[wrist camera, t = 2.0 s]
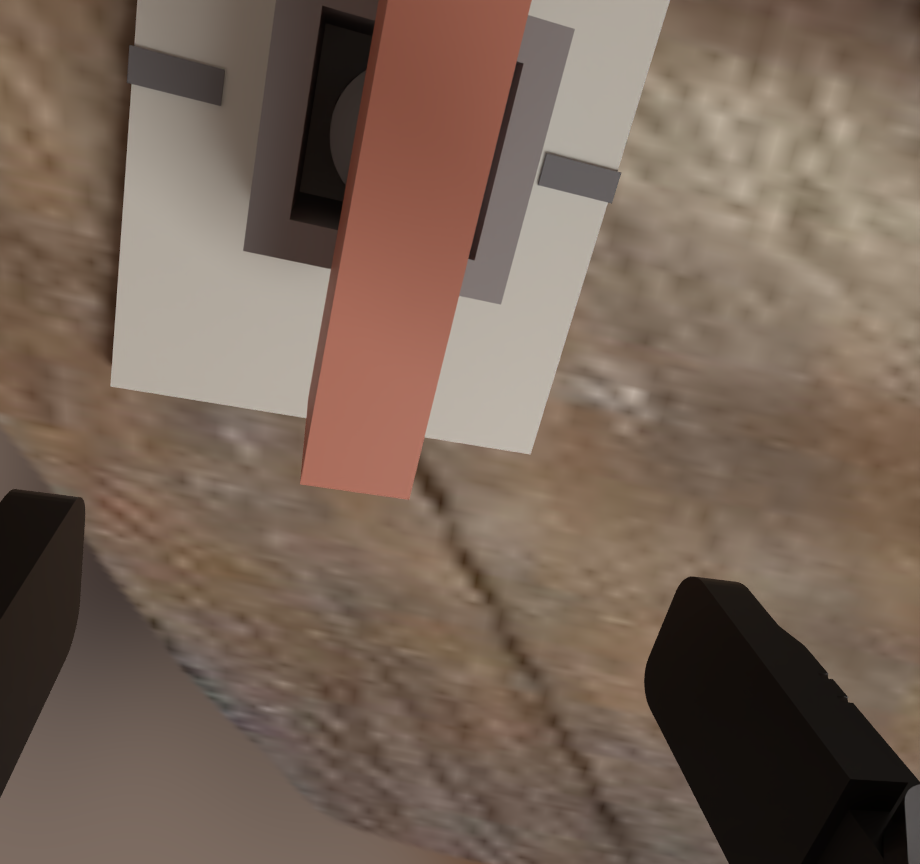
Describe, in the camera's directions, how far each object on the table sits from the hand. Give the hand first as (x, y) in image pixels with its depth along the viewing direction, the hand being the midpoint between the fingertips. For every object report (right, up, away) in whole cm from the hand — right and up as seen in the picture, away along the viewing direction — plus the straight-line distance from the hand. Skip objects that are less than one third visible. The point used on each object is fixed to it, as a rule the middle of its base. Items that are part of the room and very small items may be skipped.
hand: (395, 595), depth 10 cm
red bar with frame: (-1, +12, +13) cm, 18 cm away
